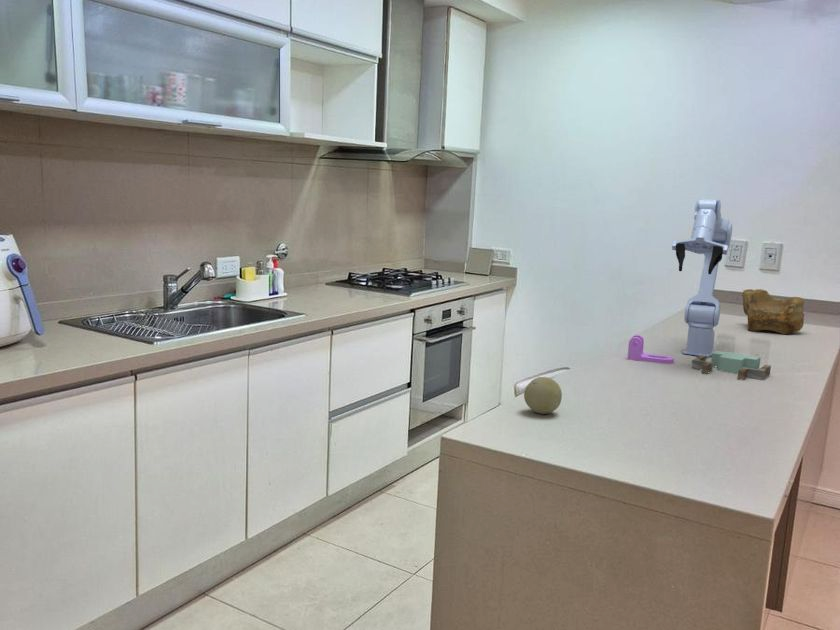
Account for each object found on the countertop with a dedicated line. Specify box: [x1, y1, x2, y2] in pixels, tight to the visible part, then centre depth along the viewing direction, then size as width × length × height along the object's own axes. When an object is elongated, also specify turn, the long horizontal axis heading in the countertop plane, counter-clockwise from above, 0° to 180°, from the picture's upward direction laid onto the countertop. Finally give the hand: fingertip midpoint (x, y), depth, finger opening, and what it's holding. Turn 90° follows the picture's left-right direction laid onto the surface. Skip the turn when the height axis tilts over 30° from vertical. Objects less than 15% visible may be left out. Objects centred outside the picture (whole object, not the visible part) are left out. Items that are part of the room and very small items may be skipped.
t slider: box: [710, 350, 761, 374], centre depth 204 cm, size 9×12×4 cm
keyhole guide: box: [691, 355, 772, 381], centre depth 200 cm, size 13×19×2 cm
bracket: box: [627, 334, 675, 365], centre depth 212 cm, size 13×6×7 cm, turn 66°
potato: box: [523, 376, 563, 415], centre depth 156 cm, size 8×8×8 cm
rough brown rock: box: [741, 288, 805, 335], centre depth 268 cm, size 23×17×15 cm
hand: (694, 270), depth 196 cm, fingers open, 7 cm apart
